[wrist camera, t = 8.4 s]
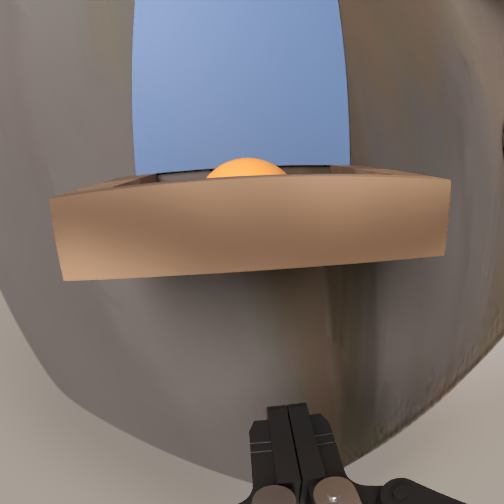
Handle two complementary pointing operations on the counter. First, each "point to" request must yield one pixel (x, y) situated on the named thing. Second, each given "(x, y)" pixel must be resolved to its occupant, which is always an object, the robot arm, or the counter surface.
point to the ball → (245, 168)
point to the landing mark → (238, 84)
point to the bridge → (248, 222)
